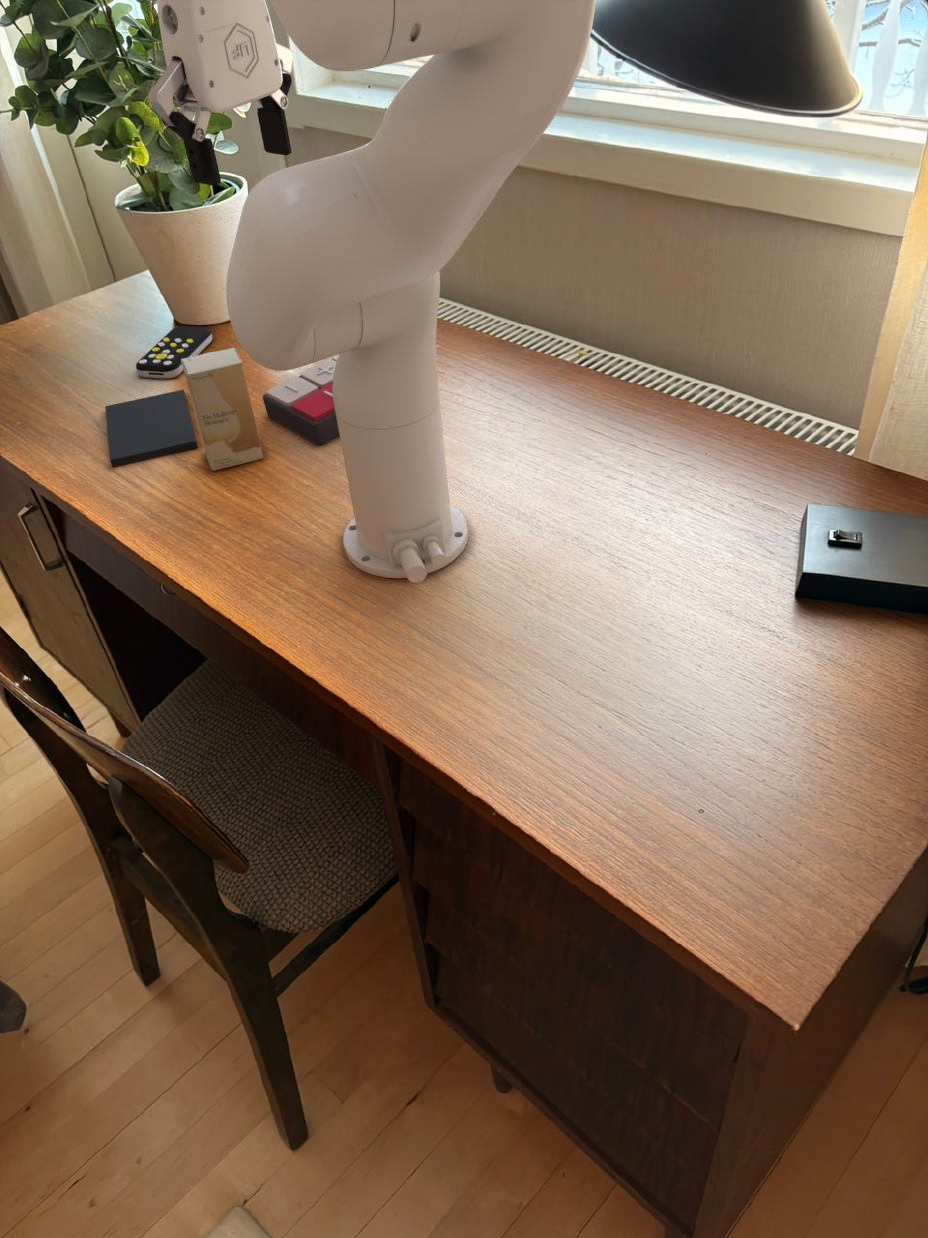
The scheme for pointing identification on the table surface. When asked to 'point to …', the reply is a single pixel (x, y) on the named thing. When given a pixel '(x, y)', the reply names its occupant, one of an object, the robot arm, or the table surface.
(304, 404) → the calculator
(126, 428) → the desk pad
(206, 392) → the cosmetic box
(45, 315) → the table surface
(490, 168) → the robot arm
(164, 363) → the remote control
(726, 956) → the table surface
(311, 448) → the table surface
